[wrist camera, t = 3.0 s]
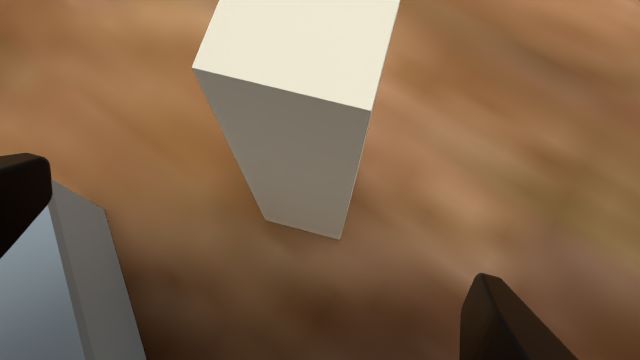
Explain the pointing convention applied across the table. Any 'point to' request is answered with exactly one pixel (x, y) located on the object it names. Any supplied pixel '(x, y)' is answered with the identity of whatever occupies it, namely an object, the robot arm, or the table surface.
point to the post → (297, 99)
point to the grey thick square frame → (66, 288)
